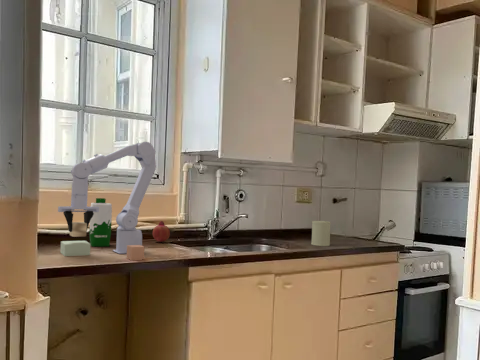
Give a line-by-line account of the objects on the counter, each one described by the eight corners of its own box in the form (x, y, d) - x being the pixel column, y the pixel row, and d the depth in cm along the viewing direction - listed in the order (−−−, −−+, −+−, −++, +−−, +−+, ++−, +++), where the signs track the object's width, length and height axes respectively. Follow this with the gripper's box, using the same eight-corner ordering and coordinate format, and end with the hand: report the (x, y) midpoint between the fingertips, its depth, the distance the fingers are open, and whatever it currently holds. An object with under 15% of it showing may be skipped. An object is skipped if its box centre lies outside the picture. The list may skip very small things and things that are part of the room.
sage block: (84, 252, 179) (85, 240, 179) (89, 255, 171) (90, 243, 171) (60, 253, 175) (60, 241, 175) (64, 256, 167) (65, 244, 167)
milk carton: (108, 243, 202) (110, 198, 202) (111, 246, 194) (113, 199, 194) (87, 244, 199) (89, 197, 199) (90, 247, 190) (92, 198, 191)
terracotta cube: (139, 257, 170) (139, 244, 170) (144, 259, 166) (144, 246, 166) (126, 258, 167) (127, 245, 167) (131, 260, 163) (131, 247, 163)
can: (326, 246, 223) (327, 221, 223) (308, 244, 227) (309, 220, 227) (332, 244, 231) (333, 220, 231) (315, 243, 235) (315, 219, 235)
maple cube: (82, 234, 175) (83, 222, 175) (86, 236, 171) (86, 223, 171) (69, 235, 173) (70, 222, 173) (72, 236, 169) (73, 223, 169)
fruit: (148, 242, 211) (149, 220, 211) (157, 240, 219) (157, 219, 219) (164, 244, 209) (165, 222, 209) (172, 242, 217) (173, 220, 217)
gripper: (95, 195, 180) (94, 229, 180) (56, 194, 172) (55, 230, 172) (101, 195, 174) (99, 231, 174) (61, 194, 166) (59, 232, 166)
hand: (77, 231), depth 172 cm, fingers closed on maple cube, 5 cm apart
